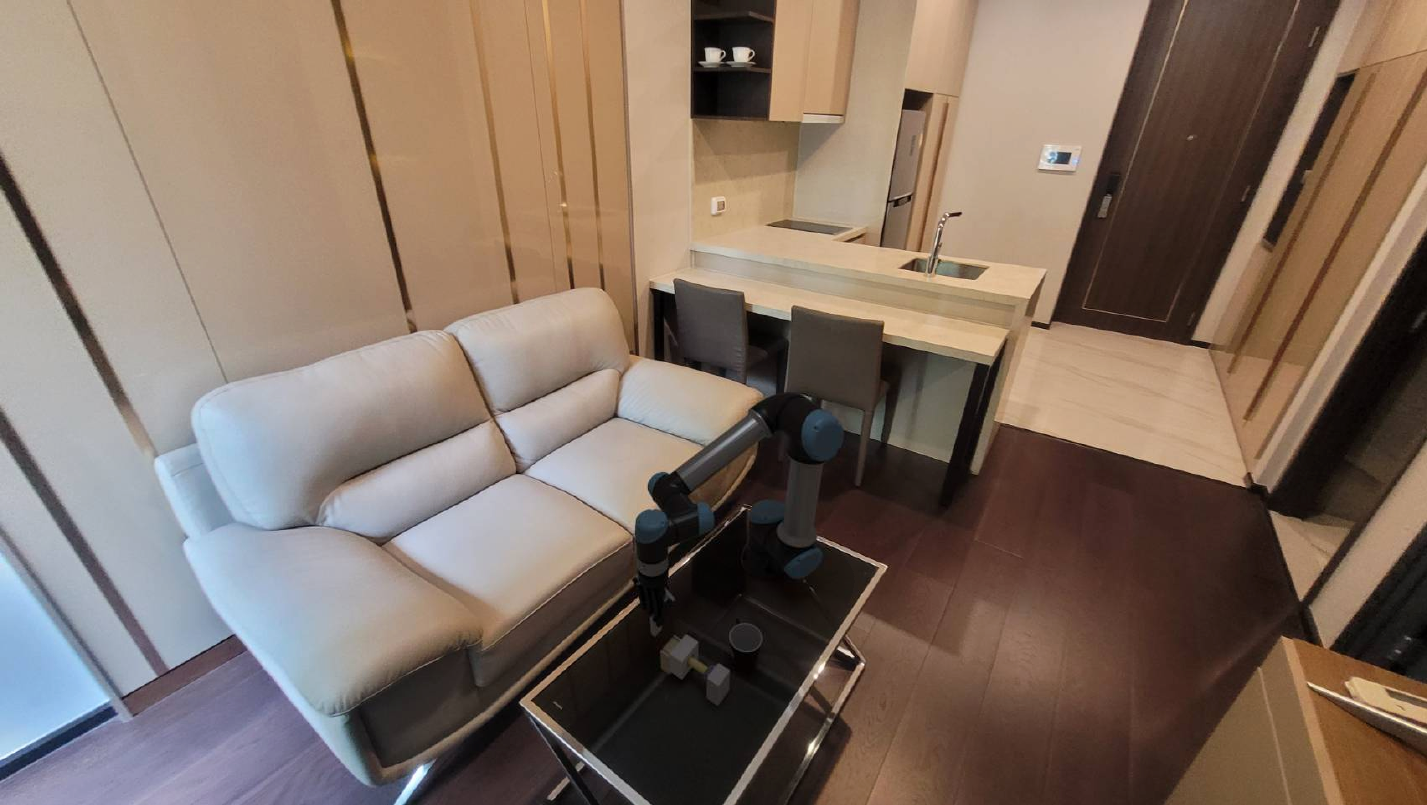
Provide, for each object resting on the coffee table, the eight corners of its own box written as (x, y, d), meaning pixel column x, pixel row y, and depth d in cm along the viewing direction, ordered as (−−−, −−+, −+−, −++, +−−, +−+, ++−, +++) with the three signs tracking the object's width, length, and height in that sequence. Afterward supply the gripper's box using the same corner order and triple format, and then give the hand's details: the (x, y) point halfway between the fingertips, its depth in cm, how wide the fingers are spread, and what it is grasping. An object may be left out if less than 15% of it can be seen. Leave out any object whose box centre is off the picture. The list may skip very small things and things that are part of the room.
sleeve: (669, 671, 135) (669, 653, 131) (686, 651, 140) (686, 634, 136) (682, 679, 133) (681, 662, 129) (698, 659, 138) (698, 642, 134)
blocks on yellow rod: (660, 668, 138) (660, 648, 134) (675, 652, 142) (674, 632, 139) (716, 707, 129) (717, 687, 125) (730, 689, 133) (731, 669, 130)
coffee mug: (757, 680, 136) (760, 655, 131) (725, 673, 137) (726, 648, 132) (763, 641, 146) (765, 617, 141) (732, 636, 147) (734, 611, 142)
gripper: (622, 564, 127) (628, 629, 139) (663, 588, 121) (666, 654, 132) (643, 546, 133) (647, 610, 144) (683, 569, 126) (684, 634, 137)
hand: (656, 631), depth 138 cm, fingers closed
